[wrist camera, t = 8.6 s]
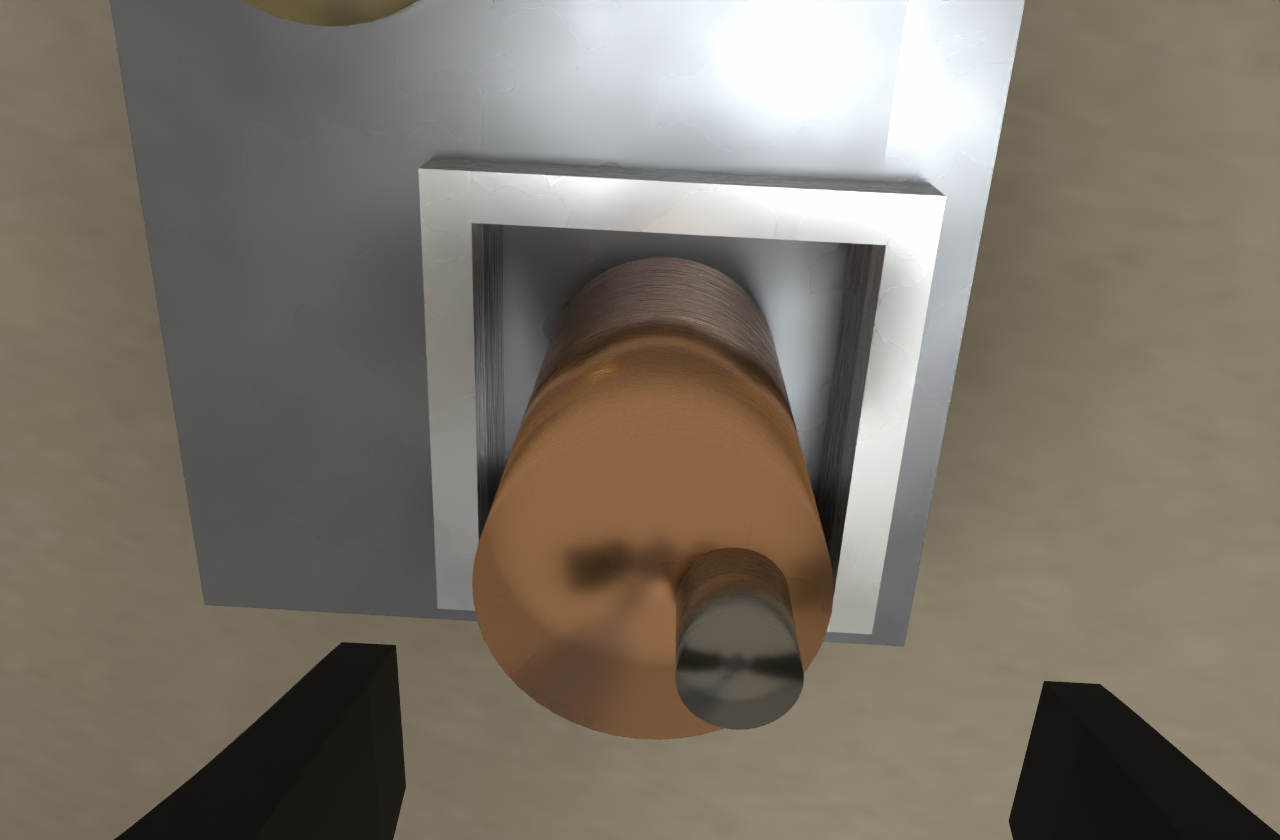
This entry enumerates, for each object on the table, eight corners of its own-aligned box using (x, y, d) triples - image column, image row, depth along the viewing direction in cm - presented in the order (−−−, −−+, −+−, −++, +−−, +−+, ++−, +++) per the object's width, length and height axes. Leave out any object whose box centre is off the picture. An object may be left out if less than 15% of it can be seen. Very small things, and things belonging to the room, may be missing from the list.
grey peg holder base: (253, 540, 22) (182, 634, 19) (119, -495, 15) (-32, -623, 12) (881, 577, 22) (915, 678, 19) (1055, -454, 15) (1159, -574, 12)
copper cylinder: (557, 472, 21) (468, 834, 12) (538, 261, 19) (418, 505, 10) (775, 467, 21) (846, 832, 12) (777, 252, 19) (863, 494, 10)
